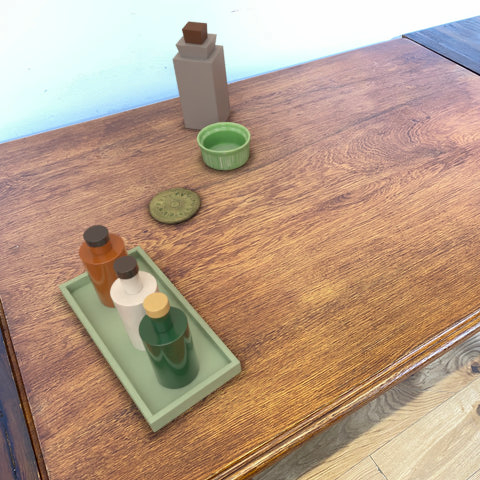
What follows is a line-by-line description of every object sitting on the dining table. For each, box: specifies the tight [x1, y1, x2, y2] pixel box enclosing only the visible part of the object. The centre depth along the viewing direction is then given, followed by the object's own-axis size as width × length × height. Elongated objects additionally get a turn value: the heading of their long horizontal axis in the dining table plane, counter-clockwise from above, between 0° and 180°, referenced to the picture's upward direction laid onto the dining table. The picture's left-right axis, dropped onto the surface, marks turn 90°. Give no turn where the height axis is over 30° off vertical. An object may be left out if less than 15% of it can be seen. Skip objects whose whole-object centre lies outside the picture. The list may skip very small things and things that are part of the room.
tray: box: [58, 245, 242, 433], centre depth 63 cm, size 24×11×2 cm, turn 42°
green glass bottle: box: [139, 292, 199, 389], centre depth 55 cm, size 5×5×13 cm
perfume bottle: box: [172, 20, 232, 131], centre depth 91 cm, size 7×7×18 cm
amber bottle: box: [78, 224, 129, 308], centre depth 64 cm, size 5×5×11 cm
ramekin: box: [196, 121, 252, 171], centre depth 88 cm, size 9×9×4 cm
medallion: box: [148, 187, 202, 225], centre depth 80 cm, size 8×8×1 cm
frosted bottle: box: [110, 256, 160, 351], centre depth 58 cm, size 5×5×13 cm
